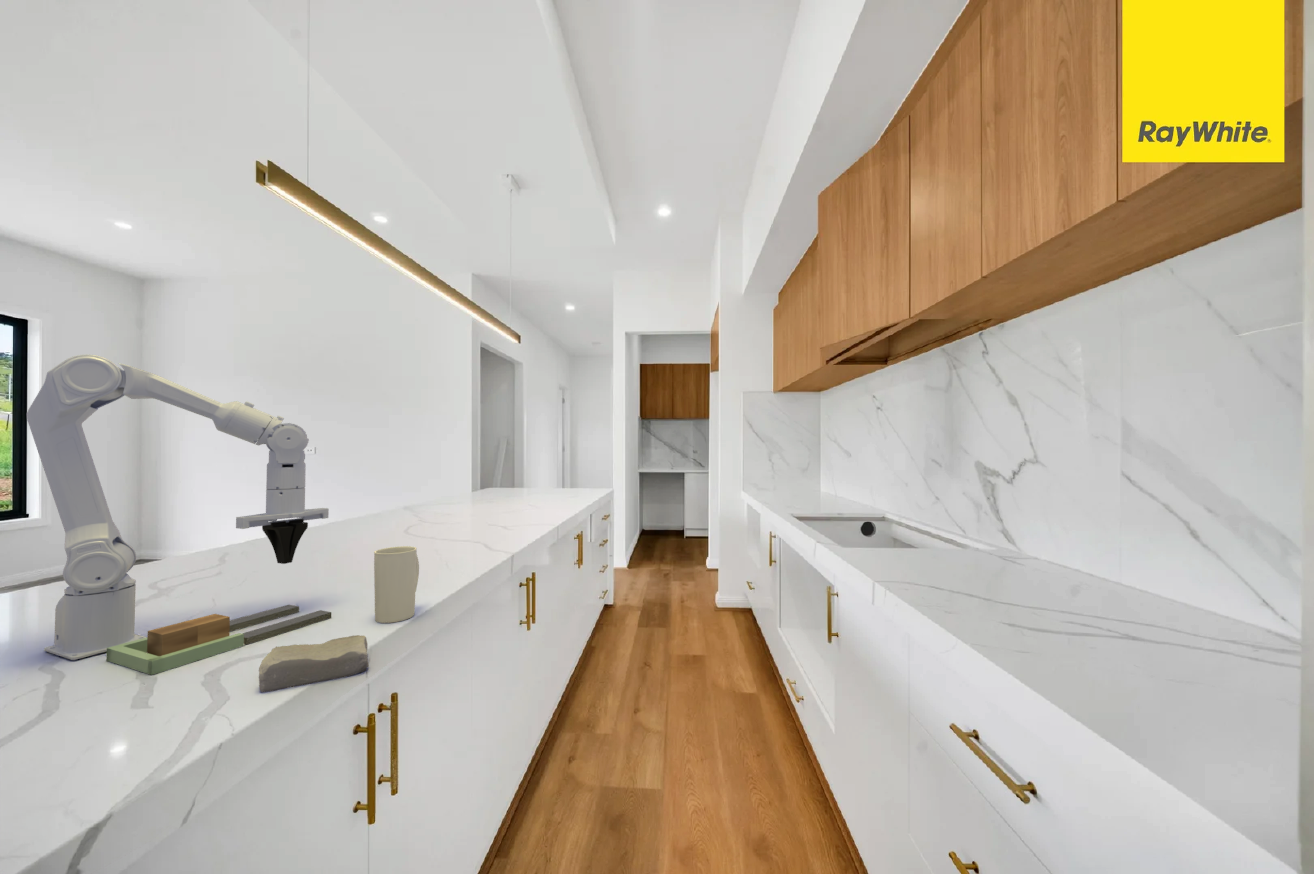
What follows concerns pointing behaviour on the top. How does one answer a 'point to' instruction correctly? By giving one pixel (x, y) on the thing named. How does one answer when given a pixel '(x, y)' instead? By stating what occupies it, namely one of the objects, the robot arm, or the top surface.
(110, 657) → the tray
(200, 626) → the block
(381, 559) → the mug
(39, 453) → the robot arm
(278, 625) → the slot rails
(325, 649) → the stone block
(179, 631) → the walnut chip front
